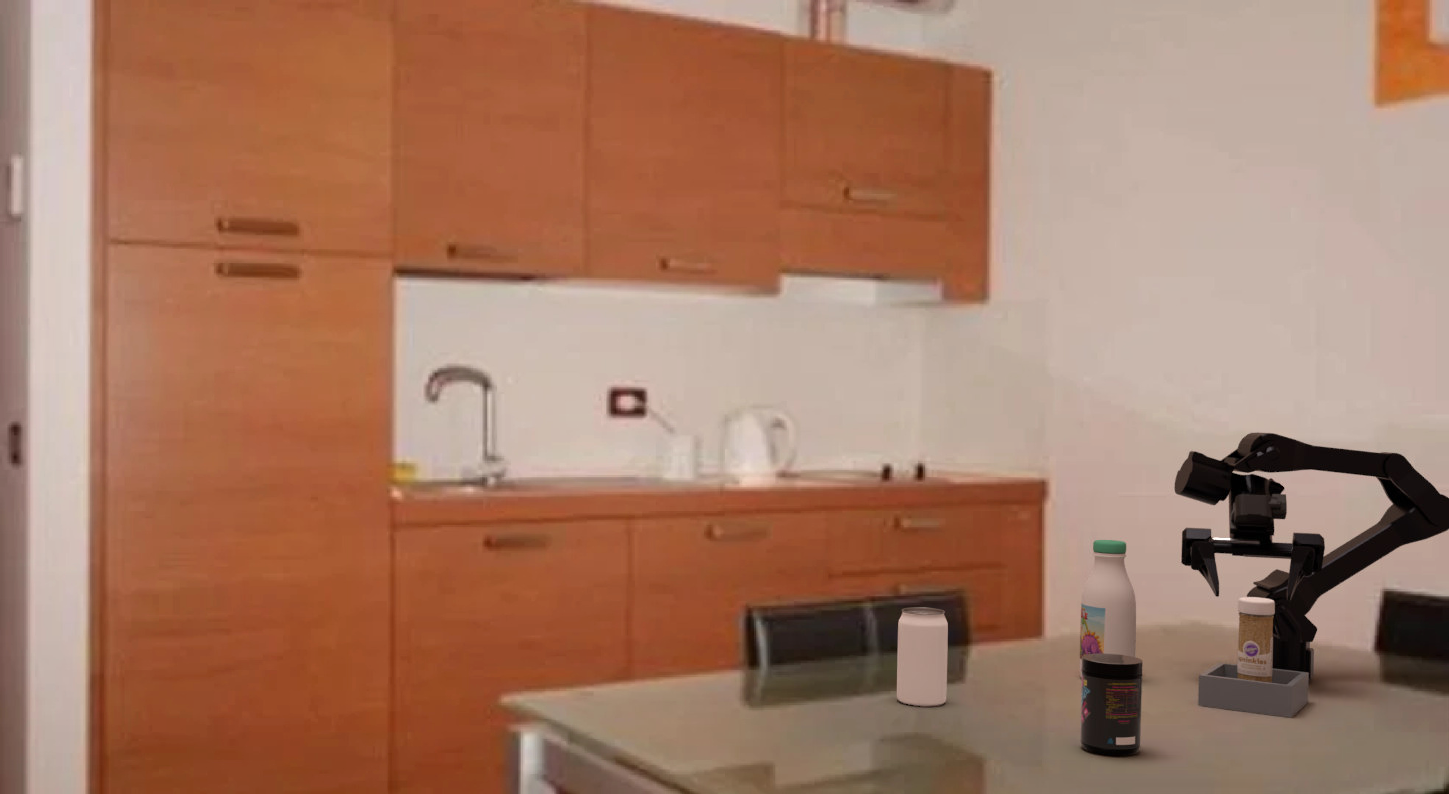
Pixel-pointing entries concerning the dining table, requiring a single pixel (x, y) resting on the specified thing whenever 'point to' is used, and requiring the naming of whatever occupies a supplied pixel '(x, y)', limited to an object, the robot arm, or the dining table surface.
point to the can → (922, 657)
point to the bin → (1253, 691)
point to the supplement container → (1111, 704)
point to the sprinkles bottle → (1255, 639)
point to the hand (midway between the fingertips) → (1253, 596)
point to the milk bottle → (1108, 604)
